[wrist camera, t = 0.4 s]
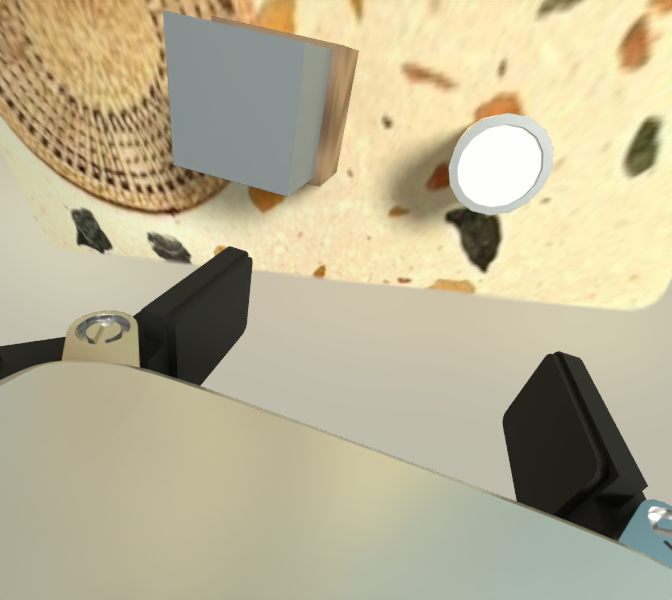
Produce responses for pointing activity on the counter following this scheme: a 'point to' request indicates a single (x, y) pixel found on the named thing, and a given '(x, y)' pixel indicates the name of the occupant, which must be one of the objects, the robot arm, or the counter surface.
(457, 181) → the shot glass
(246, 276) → the robot arm
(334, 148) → the walnut base block
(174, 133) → the slate top block
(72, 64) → the counter surface
